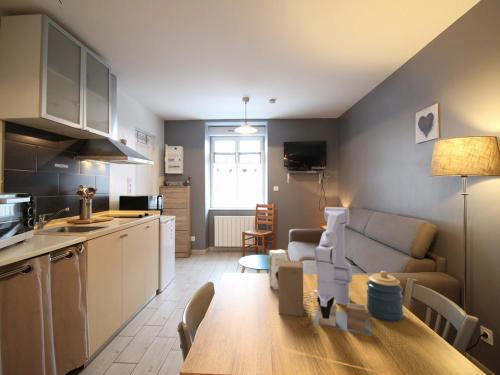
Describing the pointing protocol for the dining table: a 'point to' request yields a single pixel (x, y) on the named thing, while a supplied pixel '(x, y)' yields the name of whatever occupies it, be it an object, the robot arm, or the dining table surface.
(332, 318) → the ash block
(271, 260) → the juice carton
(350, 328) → the walnut block
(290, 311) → the wooden block
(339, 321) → the felt mat
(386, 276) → the canister
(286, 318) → the dining table surface
